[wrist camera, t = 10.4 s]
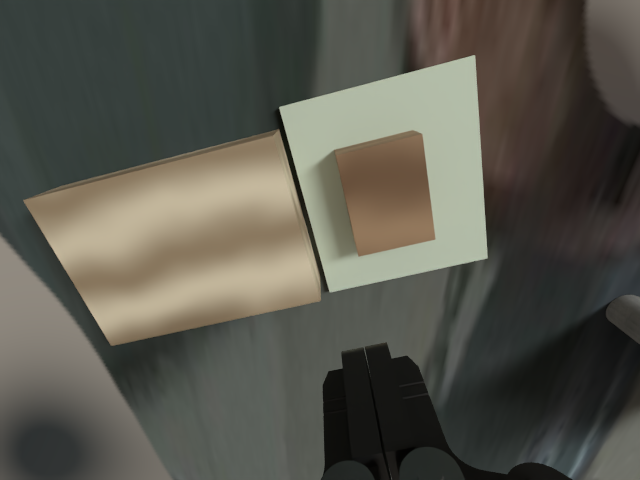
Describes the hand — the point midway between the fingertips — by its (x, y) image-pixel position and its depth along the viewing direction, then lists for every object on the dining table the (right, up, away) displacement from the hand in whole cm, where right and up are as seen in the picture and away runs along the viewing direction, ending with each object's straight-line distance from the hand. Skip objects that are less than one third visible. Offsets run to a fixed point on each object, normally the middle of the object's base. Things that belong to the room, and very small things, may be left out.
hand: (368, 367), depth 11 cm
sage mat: (+4, +8, +17) cm, 19 cm away
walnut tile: (+3, +8, +15) cm, 17 cm away
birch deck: (-12, +5, +18) cm, 22 cm away
